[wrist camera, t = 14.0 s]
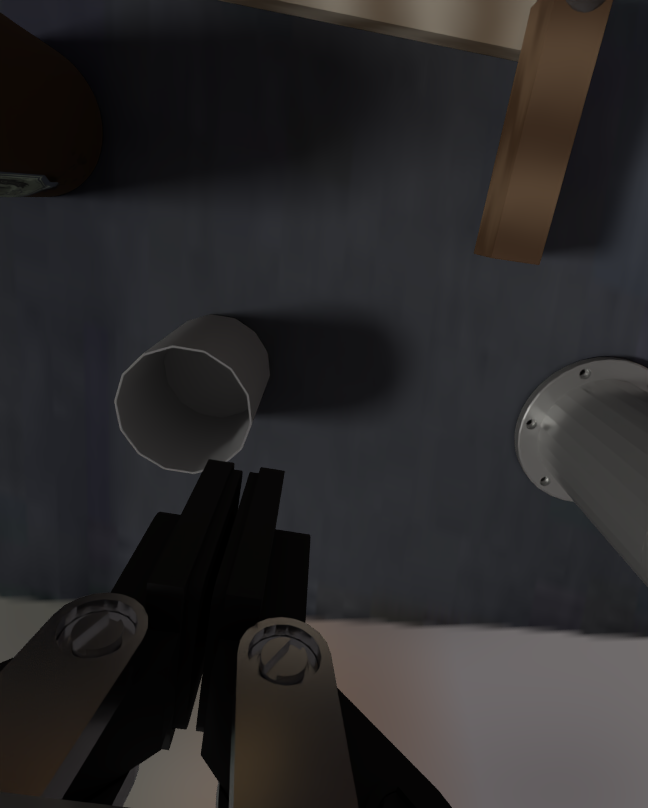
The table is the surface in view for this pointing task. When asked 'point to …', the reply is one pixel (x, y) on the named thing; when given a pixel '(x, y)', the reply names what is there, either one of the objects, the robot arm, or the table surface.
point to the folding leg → (540, 126)
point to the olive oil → (43, 118)
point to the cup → (194, 394)
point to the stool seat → (422, 20)
